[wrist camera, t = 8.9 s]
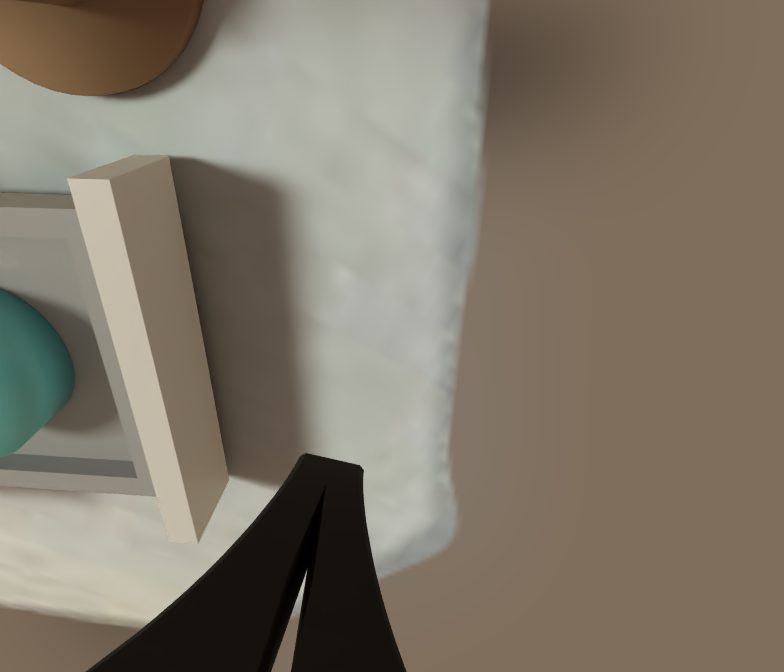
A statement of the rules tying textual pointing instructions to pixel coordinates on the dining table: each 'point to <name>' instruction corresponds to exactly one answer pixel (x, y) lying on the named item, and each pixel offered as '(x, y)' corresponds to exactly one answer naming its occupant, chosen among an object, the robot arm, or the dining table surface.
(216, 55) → the dining table surface
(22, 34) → the stand
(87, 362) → the tray
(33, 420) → the teal dome
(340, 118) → the dining table surface
